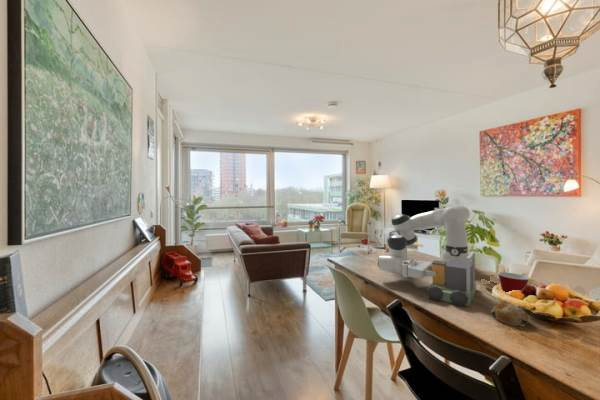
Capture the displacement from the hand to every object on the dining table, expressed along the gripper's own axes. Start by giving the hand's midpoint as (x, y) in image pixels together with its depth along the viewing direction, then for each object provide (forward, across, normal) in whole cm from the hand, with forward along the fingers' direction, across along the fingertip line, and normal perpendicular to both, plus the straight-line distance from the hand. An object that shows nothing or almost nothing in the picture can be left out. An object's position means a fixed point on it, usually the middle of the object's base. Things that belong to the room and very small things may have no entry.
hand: (438, 271), depth 127 cm
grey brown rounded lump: (+27, +17, -10) cm, 33 cm away
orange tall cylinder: (0, 0, -9) cm, 9 cm away
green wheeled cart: (+6, 0, -9) cm, 11 cm away
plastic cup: (+28, -4, -10) cm, 30 cm away
